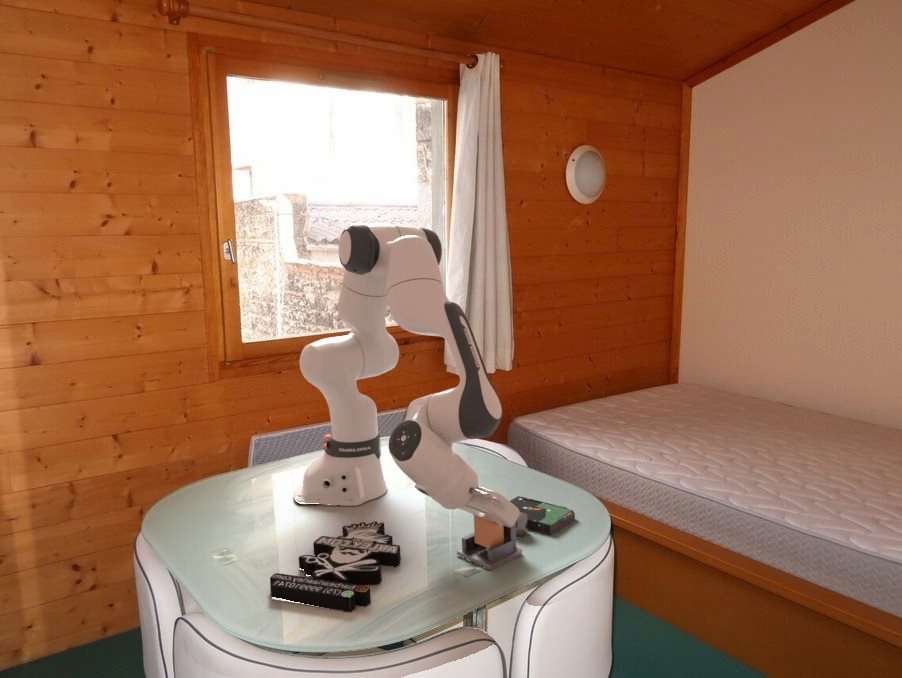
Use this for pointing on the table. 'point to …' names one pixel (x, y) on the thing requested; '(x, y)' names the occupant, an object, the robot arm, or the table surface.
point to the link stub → (521, 525)
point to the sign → (340, 569)
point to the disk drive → (543, 515)
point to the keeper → (491, 550)
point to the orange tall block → (487, 532)
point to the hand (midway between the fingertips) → (490, 518)
